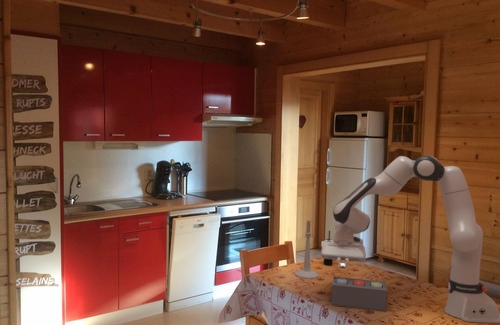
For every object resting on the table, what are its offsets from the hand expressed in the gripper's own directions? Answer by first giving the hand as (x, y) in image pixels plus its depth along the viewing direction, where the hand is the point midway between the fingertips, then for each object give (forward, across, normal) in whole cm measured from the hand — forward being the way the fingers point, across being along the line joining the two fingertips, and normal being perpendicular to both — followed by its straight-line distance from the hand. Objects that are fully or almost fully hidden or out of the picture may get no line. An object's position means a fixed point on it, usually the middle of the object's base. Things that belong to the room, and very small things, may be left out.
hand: (342, 267), depth 194 cm
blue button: (+7, 0, +5) cm, 9 cm away
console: (+11, +7, +10) cm, 17 cm away
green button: (+7, +15, +5) cm, 17 cm away
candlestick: (-12, -19, +33) cm, 40 cm away
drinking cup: (-29, -9, +50) cm, 59 cm away
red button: (+7, +7, +5) cm, 12 cm away
